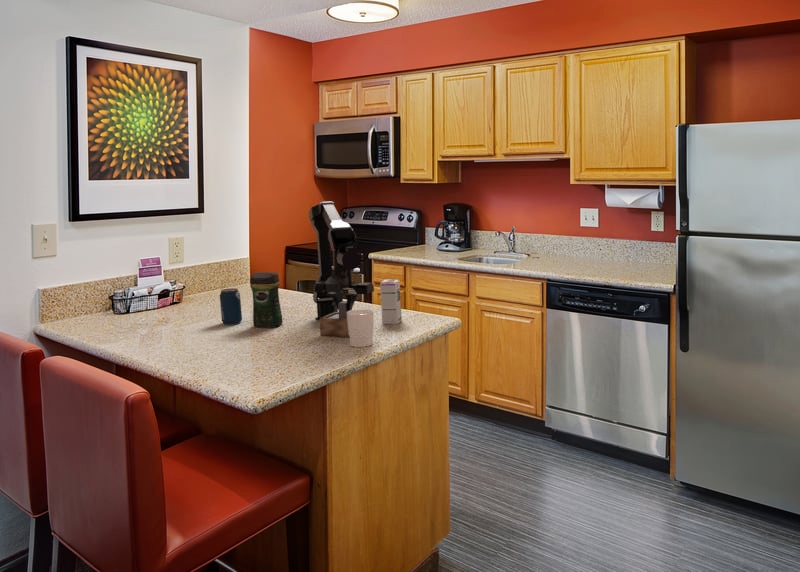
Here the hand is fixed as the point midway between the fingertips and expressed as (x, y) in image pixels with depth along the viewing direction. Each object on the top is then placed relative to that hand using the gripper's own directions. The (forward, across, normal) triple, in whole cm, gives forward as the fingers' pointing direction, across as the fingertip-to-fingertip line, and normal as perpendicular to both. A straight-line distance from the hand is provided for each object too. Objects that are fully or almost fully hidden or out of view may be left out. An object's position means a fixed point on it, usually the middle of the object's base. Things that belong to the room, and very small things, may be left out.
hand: (344, 314), depth 196 cm
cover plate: (+2, 0, 0) cm, 2 cm away
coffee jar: (+6, -32, +3) cm, 32 cm away
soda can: (+6, -46, +3) cm, 47 cm away
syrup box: (+6, +8, +18) cm, 21 cm away
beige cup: (+6, +11, -12) cm, 17 cm away
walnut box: (+6, 0, 0) cm, 6 cm away
